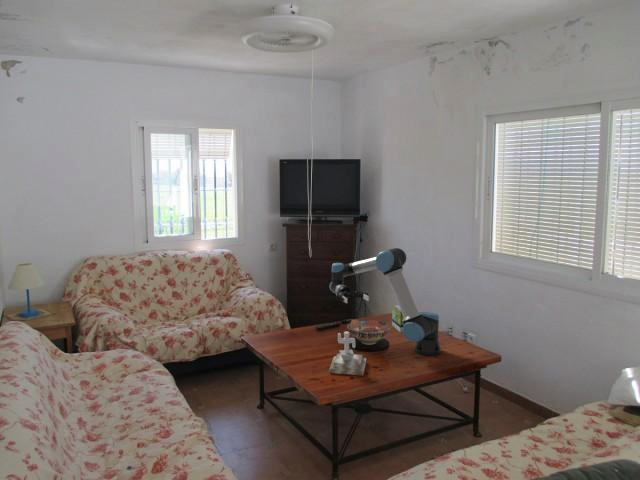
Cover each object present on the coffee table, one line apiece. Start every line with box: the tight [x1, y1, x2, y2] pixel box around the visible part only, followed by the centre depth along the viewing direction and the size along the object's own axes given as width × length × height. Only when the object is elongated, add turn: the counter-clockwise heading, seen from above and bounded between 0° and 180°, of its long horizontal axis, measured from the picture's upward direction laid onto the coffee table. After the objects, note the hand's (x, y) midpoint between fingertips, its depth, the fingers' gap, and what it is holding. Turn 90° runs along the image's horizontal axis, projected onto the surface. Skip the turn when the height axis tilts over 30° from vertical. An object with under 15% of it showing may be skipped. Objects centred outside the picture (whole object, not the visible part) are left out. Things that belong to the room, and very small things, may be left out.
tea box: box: [391, 304, 404, 334], centre depth 344 cm, size 15×10×15 cm, turn 14°
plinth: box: [328, 353, 367, 376], centre depth 279 cm, size 18×18×5 cm
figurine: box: [337, 331, 356, 361], centre depth 277 cm, size 7×9×15 cm
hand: (357, 299), depth 296 cm, fingers open, 13 cm apart
